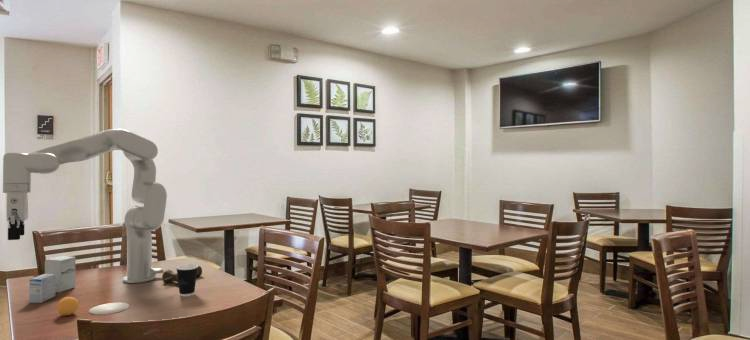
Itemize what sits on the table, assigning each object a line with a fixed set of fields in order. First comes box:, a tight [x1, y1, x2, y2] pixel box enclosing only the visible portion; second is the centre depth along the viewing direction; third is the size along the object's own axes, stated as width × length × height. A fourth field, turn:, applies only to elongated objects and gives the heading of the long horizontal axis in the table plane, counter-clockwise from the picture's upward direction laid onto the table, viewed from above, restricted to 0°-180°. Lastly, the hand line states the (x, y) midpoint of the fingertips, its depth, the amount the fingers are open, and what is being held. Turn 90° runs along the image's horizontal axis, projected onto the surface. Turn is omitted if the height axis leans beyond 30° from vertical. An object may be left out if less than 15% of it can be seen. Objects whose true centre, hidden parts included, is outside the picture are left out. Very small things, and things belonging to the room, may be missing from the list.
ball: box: [56, 296, 80, 316], centre depth 149 cm, size 6×6×6 cm
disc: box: [88, 302, 130, 316], centre depth 156 cm, size 12×12×1 cm
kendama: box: [161, 265, 203, 284], centre depth 191 cm, size 6×10×20 cm
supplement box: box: [44, 255, 76, 293], centre depth 177 cm, size 7×7×13 cm
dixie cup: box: [175, 263, 199, 297], centre depth 172 cm, size 8×8×11 cm
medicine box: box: [28, 273, 56, 304], centre depth 164 cm, size 8×4×9 cm, turn 5°
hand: (16, 237), depth 154 cm, fingers open, 9 cm apart
